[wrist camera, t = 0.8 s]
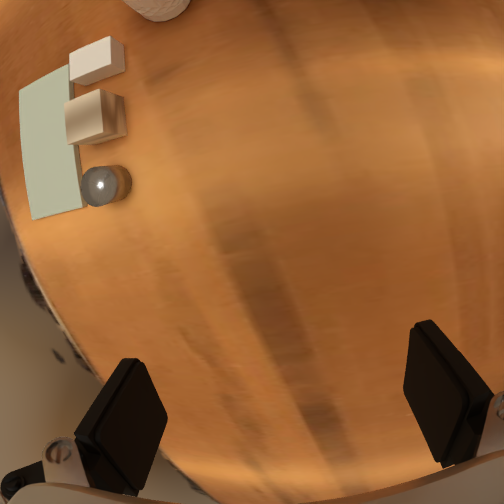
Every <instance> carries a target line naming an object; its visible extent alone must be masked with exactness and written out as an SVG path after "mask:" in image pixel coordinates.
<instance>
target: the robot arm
mask: <svg viewBox="0 0 504 504" xmlns="http://www.w3.org/2000/svg"><path fill="white" fill-rule="evenodd" d="M403 391H404V395H405V397H406V399H407V401H408V403H409V405H410V407H411V409H412V411H413V414H414V416H415V418H416V420H417V422H418V424H419V426H420V429H421V431H422V433H423V435H424V437H425V440H426V442H427V444H428V446H429V449H430V451H431V453H432V456H433V458H434V460H435V461H436V462H437V463H438V462H440V463H441V466H442V468H443V469H444V468H446V467H449V466H451V465H454V464H455V466H452V467H449V468H447V469H444V470H442V471H439V472H436V473H433V474H430V475H427V476H424V477H421V478H418V479H415V480H412V481H408V482H405V483H402V484H398V485H395V486H391V487H387V488H384V489H380V490H376V491H371V492H367V493H362V494H358V495H353V496H348V497H342V498H336V499H330V500H324V501H316V502H309V503H300V504H504V391H502V392H499V393H498V394H496V395H494V394H493V392H492V391H491V390H490V389H489V387H488V386H487V385H486V383H485V382H484V381H483V380H482V378H481V377H480V376H479V374H478V373H477V372H476V371H475V369H474V368H473V367H472V366H471V364H470V363H469V362H468V361H467V360H466V358H465V357H464V356H463V355H462V353H461V352H460V351H458V350H457V348H456V347H455V346H454V345H453V344H452V342H451V341H450V340H449V339H448V338H447V337H446V335H445V334H444V333H443V332H442V331H441V330H440V329H439V327H438V326H437V325H436V324H435V323H434V322H433V321H432V320H430V319H429V320H425V321H421V322H417V323H416V324H415V325H414V328H411V330H410V337H409V347H408V355H407V363H406V371H405V378H404V384H403ZM167 420H168V416H167V413H166V411H165V408H164V406H163V404H162V402H161V400H160V398H159V396H158V393H157V391H156V389H155V387H154V385H153V382H152V380H151V378H150V375H149V373H148V371H147V368H146V366H145V364H144V363H143V362H141V361H140V360H139V359H137V358H124V359H122V360H121V361H120V363H119V364H118V366H117V367H116V369H115V370H114V372H113V373H112V375H111V376H110V378H109V379H108V381H107V382H106V384H105V385H104V387H103V388H102V390H101V391H100V393H99V395H98V396H97V398H96V399H95V401H94V402H93V404H92V405H91V407H90V408H89V410H88V412H87V413H86V415H85V416H84V418H83V419H82V421H81V423H80V424H79V426H78V427H77V429H76V431H75V432H74V435H75V436H76V438H75V440H72V439H71V438H68V437H59V438H55V439H53V440H51V441H50V442H49V443H47V445H46V446H45V447H44V449H43V451H42V461H39V462H36V463H34V464H31V465H29V466H26V467H23V468H21V469H18V470H15V471H12V472H10V473H8V474H7V475H6V476H5V477H4V478H3V480H2V482H1V490H0V504H180V503H171V502H163V501H156V500H150V499H143V498H138V497H137V496H138V493H139V490H142V489H143V488H144V486H145V483H146V480H147V477H148V474H149V471H150V469H151V466H152V463H153V460H154V457H155V454H156V452H157V449H158V446H159V443H160V441H161V438H162V435H163V432H164V430H165V427H166V424H167ZM122 494H125V495H122ZM127 495H130V496H127ZM132 496H135V497H132Z"/></svg>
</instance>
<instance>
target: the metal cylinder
mask: <svg viewBox="0 0 504 504" xmlns="http://www.w3.org/2000/svg"><path fill="white" fill-rule="evenodd" d="M131 186H132V179H131V175H130V173H129V172H128V170H127V169H126V168H124V167H123V166H120V165H113V166H100V167H93V168H90V169H89V170H87V171H86V172H85V174H84V175H83V177H82V180H81V185H80V188H81V194H82V196H83V198H84V200H85V201H86V202H87V203H88V204H89V205H91V206H94V207H99V206H103V205H106V204H109V203H112V202H115V201H118V200H122V199H124V198H125V197H126V196H127V195H128V194H129V192H130V190H131Z"/></svg>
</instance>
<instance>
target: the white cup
mask: <svg viewBox="0 0 504 504" xmlns="http://www.w3.org/2000/svg"><path fill="white" fill-rule="evenodd" d="M122 1H123V2H125V3H126V4H127V5H128V6H130V7H131V8H132V9H134V10H135V11H137V12H138V13H140V14H141V15H142V16H143V17H144V18H146V19H148V20H151V21H153V22H160V21H167V20H169V19H172V18H174V17H177V16H178V15H179V14H180V13H182V12H183V11H184V10H185V9H186V8H187V6H188V4H189V2H190V1H191V0H122Z"/></svg>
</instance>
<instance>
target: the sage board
mask: <svg viewBox="0 0 504 504" xmlns="http://www.w3.org/2000/svg"><path fill="white" fill-rule="evenodd" d="M73 99H74V82H72V81H70V67H69V64H67V65H65V66H63V67H61V68H59V69H57V70H55V71H53V72H51V73H49V74H48V75H46V76H44V77H42V78H40V79H38V80H37V81H35V82H33V83H31V84H30V85H28V86H26V87H24V88H23V89H21V90H20V91H19V114H20V134H21V147H22V157H23V166H24V174H25V181H26V188H27V194H28V200H29V206H30V211H31V216H32V220H35V219H39V218H43V217H46V216H50V215H54V214H58V213H62V212H65V211H69V210H73V209H78V208H82V207H85V206H87V202H86V201H85V200H84V198H83V196H82V194H81V188H80V185H81V180H82V170H81V163H80V156H79V148H78V145H67V137H66V126H65V112H64V103H66V102H68V101H70V100H73Z"/></svg>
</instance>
